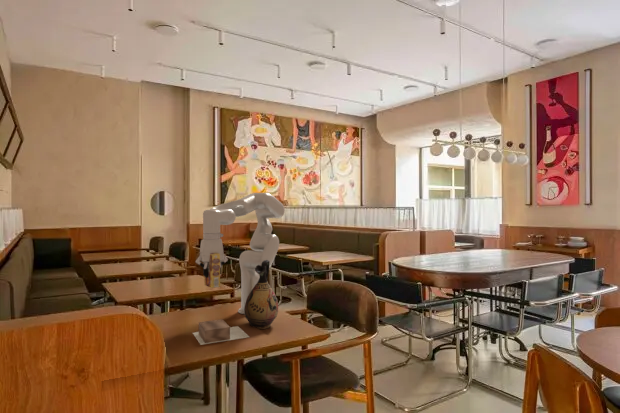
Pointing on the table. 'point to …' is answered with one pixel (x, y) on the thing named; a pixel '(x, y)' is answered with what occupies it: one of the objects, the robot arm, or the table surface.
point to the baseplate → (234, 334)
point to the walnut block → (214, 330)
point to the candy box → (213, 271)
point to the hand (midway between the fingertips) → (212, 276)
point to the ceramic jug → (261, 300)
